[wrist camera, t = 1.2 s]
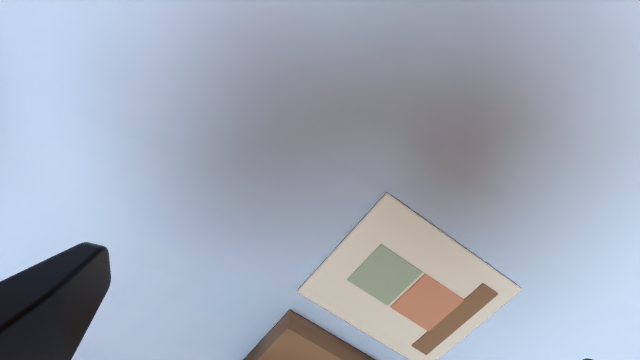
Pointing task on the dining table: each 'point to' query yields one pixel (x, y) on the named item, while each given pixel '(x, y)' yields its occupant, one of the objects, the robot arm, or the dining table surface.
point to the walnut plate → (302, 343)
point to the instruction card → (407, 283)
